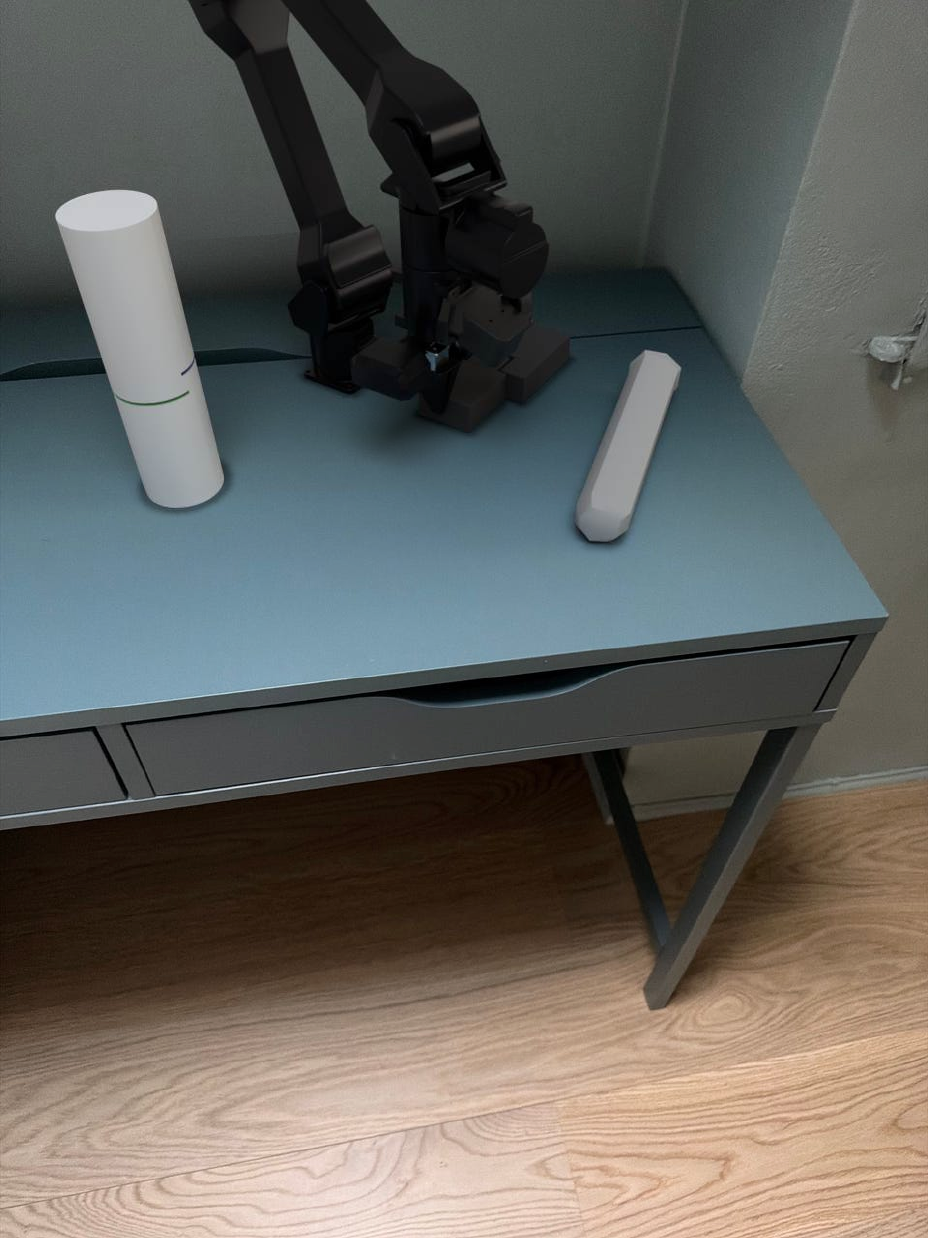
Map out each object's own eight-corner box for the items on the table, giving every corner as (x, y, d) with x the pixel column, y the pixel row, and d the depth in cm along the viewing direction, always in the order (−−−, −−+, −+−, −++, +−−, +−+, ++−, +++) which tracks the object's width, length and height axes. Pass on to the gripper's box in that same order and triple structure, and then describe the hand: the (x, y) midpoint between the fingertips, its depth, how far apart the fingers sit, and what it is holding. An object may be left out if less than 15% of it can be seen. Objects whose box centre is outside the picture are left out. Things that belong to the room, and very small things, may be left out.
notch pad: (441, 375, 96) (440, 350, 94) (490, 334, 102) (490, 309, 99) (522, 404, 92) (524, 378, 90) (568, 360, 98) (571, 334, 96)
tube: (612, 563, 78) (665, 405, 94) (639, 523, 74) (690, 365, 90) (556, 536, 78) (619, 382, 94) (581, 494, 73) (642, 341, 89)
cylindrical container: (238, 468, 85) (176, 197, 67) (199, 514, 80) (121, 237, 62) (172, 453, 87) (93, 184, 68) (130, 498, 82) (34, 222, 64)
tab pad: (419, 414, 91) (417, 388, 89) (470, 369, 97) (470, 344, 94) (469, 433, 89) (469, 407, 87) (518, 386, 94) (520, 361, 92)
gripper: (454, 329, 68) (455, 491, 80) (570, 238, 79) (556, 392, 91) (338, 291, 72) (355, 450, 84) (463, 209, 83) (463, 360, 95)
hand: (438, 412), depth 88 cm, fingers closed
